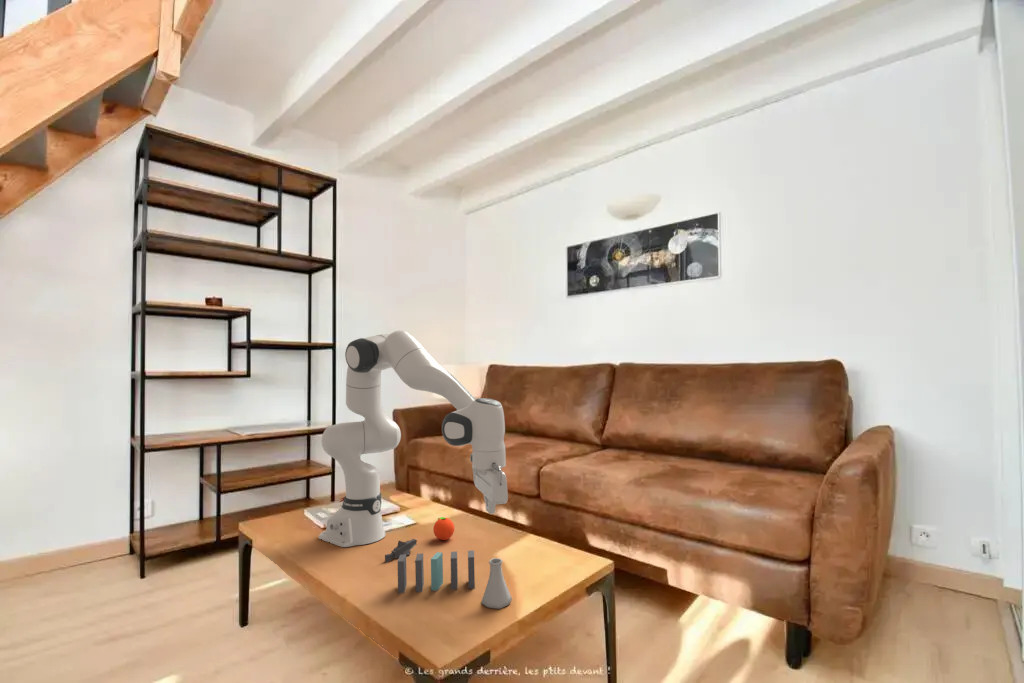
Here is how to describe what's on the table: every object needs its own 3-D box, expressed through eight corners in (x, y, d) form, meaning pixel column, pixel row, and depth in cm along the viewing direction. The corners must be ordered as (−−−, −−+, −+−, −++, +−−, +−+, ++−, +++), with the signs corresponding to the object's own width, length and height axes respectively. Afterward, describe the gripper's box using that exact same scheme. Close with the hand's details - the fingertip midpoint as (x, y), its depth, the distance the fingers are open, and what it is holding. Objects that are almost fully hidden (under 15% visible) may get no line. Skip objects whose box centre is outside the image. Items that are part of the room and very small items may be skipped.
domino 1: (398, 593, 124) (397, 561, 124) (400, 585, 128) (400, 554, 128) (404, 592, 124) (403, 561, 124) (406, 584, 128) (406, 554, 129)
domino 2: (415, 592, 124) (415, 560, 124) (417, 584, 129) (417, 553, 129) (422, 591, 124) (421, 560, 125) (423, 583, 129) (423, 553, 129)
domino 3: (431, 590, 125) (430, 558, 125) (437, 582, 129) (436, 552, 130) (437, 590, 125) (436, 559, 125) (443, 582, 129) (442, 552, 129)
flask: (500, 612, 113) (500, 569, 114) (475, 604, 117) (475, 563, 118) (516, 599, 120) (516, 558, 120) (492, 592, 123) (491, 552, 124)
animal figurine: (390, 568, 142) (387, 552, 141) (381, 564, 145) (378, 548, 144) (422, 548, 151) (419, 533, 150) (413, 545, 154) (410, 530, 153)
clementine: (428, 538, 161) (428, 516, 162) (446, 533, 166) (446, 512, 166) (439, 545, 155) (439, 522, 155) (458, 539, 159) (458, 518, 159)
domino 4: (451, 589, 125) (450, 558, 125) (451, 582, 129) (451, 551, 130) (457, 589, 125) (456, 558, 125) (457, 581, 130) (457, 551, 130)
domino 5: (468, 588, 125) (467, 557, 126) (468, 580, 130) (468, 550, 130) (474, 588, 126) (474, 557, 126) (474, 580, 130) (474, 550, 130)
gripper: (513, 466, 120) (514, 522, 120) (489, 452, 140) (491, 500, 139) (488, 469, 118) (490, 526, 118) (468, 454, 137) (469, 503, 137)
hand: (490, 512), depth 129 cm, fingers closed
